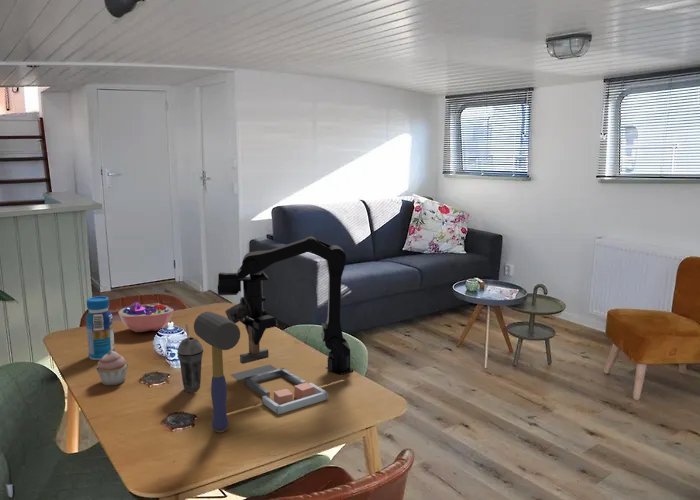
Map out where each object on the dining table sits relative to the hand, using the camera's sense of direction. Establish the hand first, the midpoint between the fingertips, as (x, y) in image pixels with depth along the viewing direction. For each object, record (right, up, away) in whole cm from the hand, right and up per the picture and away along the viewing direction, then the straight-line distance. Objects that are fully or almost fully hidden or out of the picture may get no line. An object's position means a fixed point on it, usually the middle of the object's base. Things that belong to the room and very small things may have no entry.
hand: (254, 343), depth 181 cm
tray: (+14, -13, -17) cm, 26 cm away
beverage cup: (-17, -12, -9) cm, 23 cm away
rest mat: (0, -10, +2) cm, 10 cm away
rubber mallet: (-3, -17, -33) cm, 38 cm away
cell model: (-48, -2, +43) cm, 64 cm away
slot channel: (+8, -12, -8) cm, 16 cm away
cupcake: (-42, -11, -4) cm, 43 cm away
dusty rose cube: (+11, -14, -19) cm, 26 cm away
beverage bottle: (-54, -7, +16) cm, 57 cm away
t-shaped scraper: (0, -5, +1) cm, 5 cm away
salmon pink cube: (+16, -13, -14) cm, 25 cm away
